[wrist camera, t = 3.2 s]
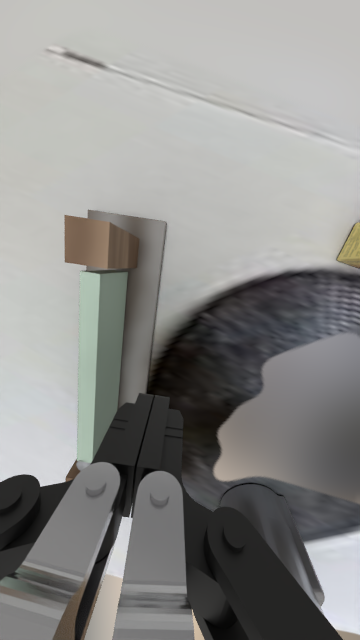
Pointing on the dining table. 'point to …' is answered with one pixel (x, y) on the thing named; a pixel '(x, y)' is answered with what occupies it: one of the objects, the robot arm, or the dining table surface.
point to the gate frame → (142, 284)
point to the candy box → (352, 248)
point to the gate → (99, 356)
